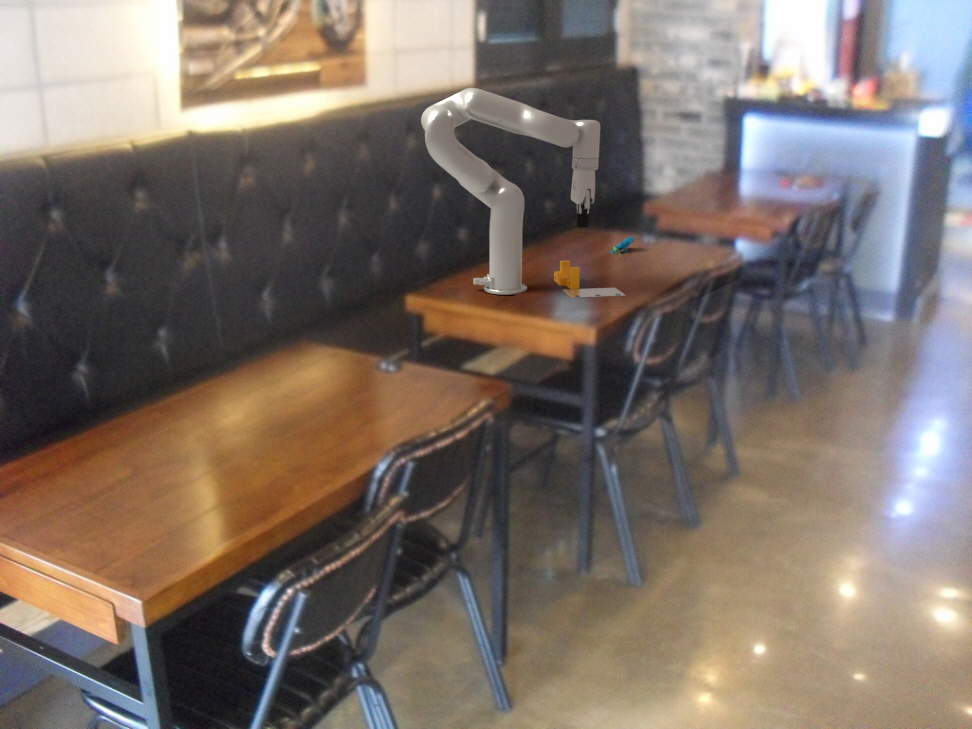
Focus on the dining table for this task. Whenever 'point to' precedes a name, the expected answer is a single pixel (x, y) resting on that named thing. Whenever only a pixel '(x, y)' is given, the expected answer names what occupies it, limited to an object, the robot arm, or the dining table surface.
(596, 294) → the door panel
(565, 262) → the pipe clamp
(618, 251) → the gear
